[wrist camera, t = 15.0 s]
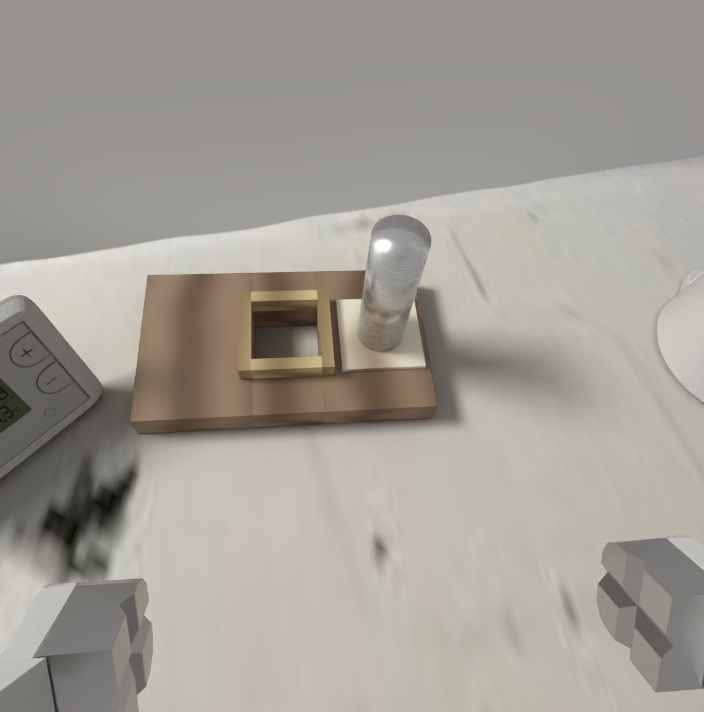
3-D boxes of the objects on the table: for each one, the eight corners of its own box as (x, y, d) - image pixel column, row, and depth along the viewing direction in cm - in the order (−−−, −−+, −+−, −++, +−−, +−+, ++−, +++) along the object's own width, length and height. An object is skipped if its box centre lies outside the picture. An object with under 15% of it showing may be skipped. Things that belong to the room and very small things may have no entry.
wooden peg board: (408, 285, 53) (415, 258, 49) (431, 418, 46) (441, 398, 43) (154, 292, 50) (143, 264, 47) (138, 433, 43) (124, 413, 40)
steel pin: (399, 311, 48) (426, 214, 37) (406, 351, 46) (435, 260, 35) (354, 313, 47) (368, 215, 37) (359, 353, 45) (375, 261, 35)
